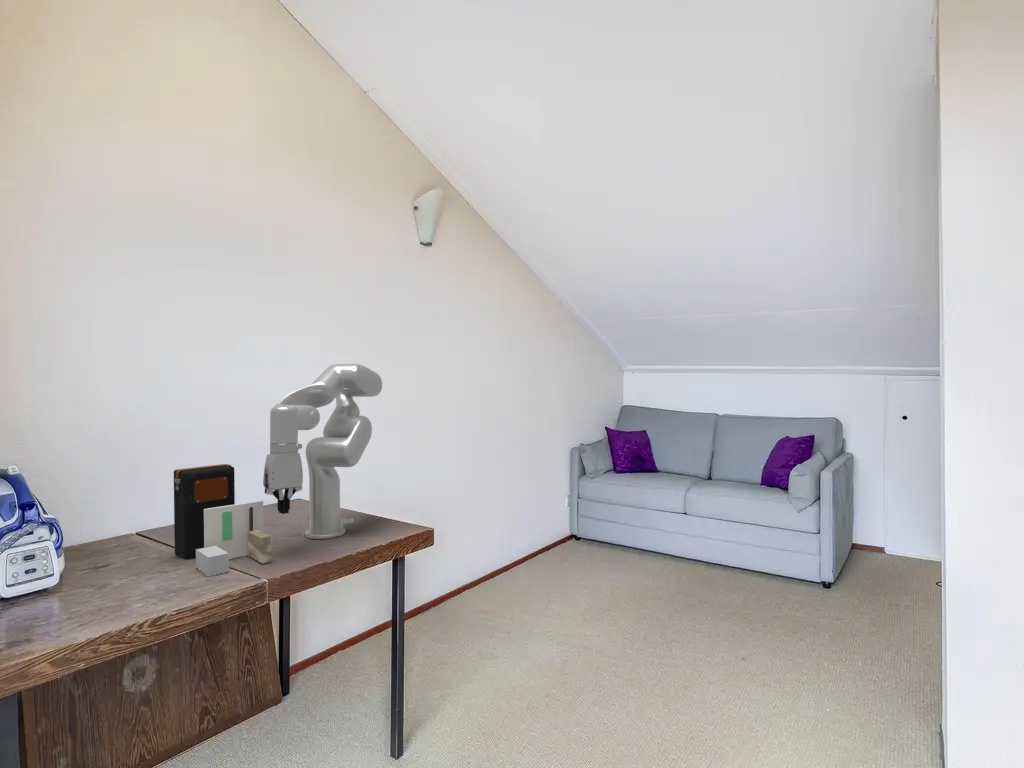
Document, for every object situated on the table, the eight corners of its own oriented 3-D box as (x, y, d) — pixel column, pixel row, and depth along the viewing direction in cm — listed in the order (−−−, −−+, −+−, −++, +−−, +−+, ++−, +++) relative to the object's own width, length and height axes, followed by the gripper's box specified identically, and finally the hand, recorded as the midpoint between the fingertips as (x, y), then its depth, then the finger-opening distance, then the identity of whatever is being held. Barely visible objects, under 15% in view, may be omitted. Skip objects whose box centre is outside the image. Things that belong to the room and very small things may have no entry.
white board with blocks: (262, 551, 178) (261, 500, 177) (281, 560, 169) (280, 507, 168) (192, 565, 164) (191, 510, 164) (208, 576, 155) (207, 518, 155)
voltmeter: (225, 543, 186) (224, 462, 186) (239, 548, 181) (238, 465, 180) (171, 555, 174) (170, 469, 174) (184, 561, 168) (183, 471, 168)
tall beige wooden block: (255, 553, 174) (255, 506, 174) (271, 561, 167) (270, 512, 166) (247, 555, 173) (246, 507, 172) (262, 563, 165) (261, 513, 165)
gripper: (302, 446, 182) (302, 507, 182) (252, 450, 171) (252, 514, 171) (314, 448, 176) (314, 511, 176) (263, 452, 166) (262, 518, 166)
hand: (283, 512), depth 174 cm, fingers closed
